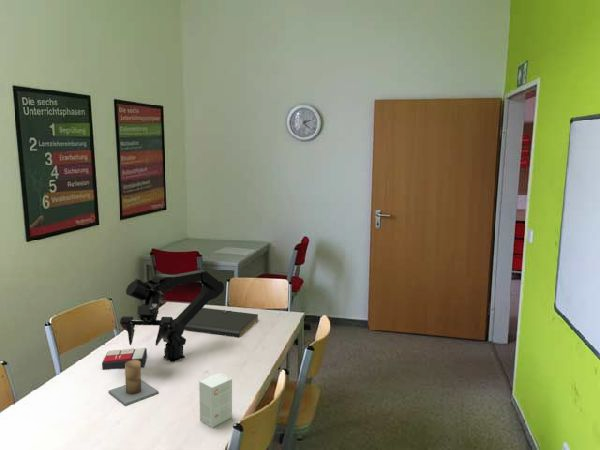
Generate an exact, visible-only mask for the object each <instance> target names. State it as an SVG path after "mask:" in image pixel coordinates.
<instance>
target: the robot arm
mask: <svg viewBox="0 0 600 450" xmlns="http://www.w3.org/2000/svg"><path fill="white" fill-rule="evenodd" d="M196 282H200V283H201V285H202V286H201V288H200V291H199V292H200V293H199V294H198V295H196V297H195V298H194V299H193V300H192V301H191V302H190V303H189V304H188V305H187V306H186V307H185V308H184V309H183V310H182V312H180V314H178V316H177V317H176V318H173V317H172V316H162V317H161V318H160V319H157V318H158V315H159V310H160V309H159V308H160V303H161V300H164V299H166V295H165V294H164V293H166V292H169V291H170V290H174V289H175V288H176V287H178V286H181V285H186V284H191V283H196ZM224 291H225V285H224V282H222V281H220V280H218V279H217V278H216V277H214V276H212V275H211V274H210V272H208V271H207V270H203V269H197V270H193V271H186V272H183V273H176V274H167V273H156V274H155V275H153V276H152V278H150V279H148V280H147V281H144V282H143V281H142V280H140V279H139V278H135V279H134V281H132V282H130V284H128V285H127V287H126V289H125V294H126V295H127V296H129V297H130V298H132V299H135V300H136V301H139V302H142V301H143V304H141V305H137V311H136V315H137V316H138V318H139V319H134V317H133V316H131V315H129V316H128V315H127V316H126V315H122V316H121V317H120V318H119V319H120V320H119V324H120V326H121V327H122V329H124V330H125V331H126V332H127V334H128V335H127V336H128V344H129V345H130V346H132V344H133V341H134V340H133V339H134V335H135V327H136V326H158V332H157V335H156V339H155V346H158V345H159V344H160V342H161V341H163V342H164V343H165V345H164V347H165V348H164V355H163V358H164V359H165V360H167V361H169V362H171V363H174V362H177V361H179V360H183V359H185V358H186V355H184V346H185V345H186V342H187V339H186V337H184V336H183V334H184V332H185V330H184V328H185V326H186V325H187V324H188V323H189V322H190V321H191V320H192V318H193V317H194V316H195V315H196V314H197V313H198V312H199V311H200V310H201V309H202V308H205V306H206V305H207V303H208V302H209V301H212V300H215V299H216V298H218V297H219V296H220V295H221V294H223V292H224Z"/></svg>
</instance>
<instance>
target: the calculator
mask: <svg viewBox="0 0 600 450" xmlns="http://www.w3.org/2000/svg"><path fill="white" fill-rule="evenodd" d="M147 351H148V350H147V348H146V347H139V348H138V347H137V348H135V347H132V348H125V349H124V348H123V349H112V350H111V349H110V350H108V351H107V352H106V354H105V356H104V358H103V360H102V362H101V366H102V370H104V371H106V370H118V369H119V370H121V369H125V363H126V362H127V361H131V360H139V361H140V362H141V368H142V369H143V368H144V367H145V364H146V361H147V357H148V352H147Z"/></svg>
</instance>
